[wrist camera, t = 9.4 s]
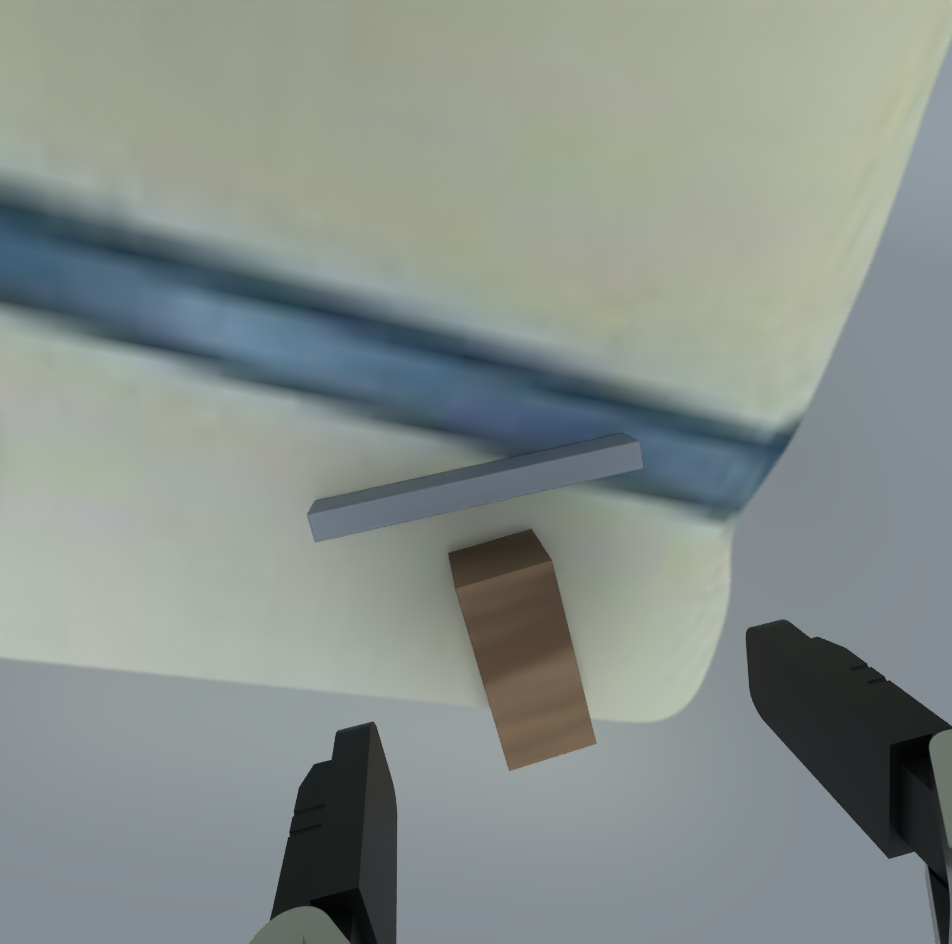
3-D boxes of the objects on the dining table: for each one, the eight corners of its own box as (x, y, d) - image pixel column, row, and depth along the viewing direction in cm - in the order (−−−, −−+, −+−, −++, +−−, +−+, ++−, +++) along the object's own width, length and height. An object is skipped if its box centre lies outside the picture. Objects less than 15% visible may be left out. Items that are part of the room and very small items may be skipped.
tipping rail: (314, 500, 25) (306, 515, 23) (622, 433, 26) (639, 441, 24) (321, 526, 25) (315, 542, 23) (625, 458, 26) (643, 468, 24)
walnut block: (455, 588, 23) (509, 773, 25) (551, 560, 23) (597, 746, 25) (447, 551, 27) (495, 715, 29) (530, 527, 27) (571, 691, 29)
